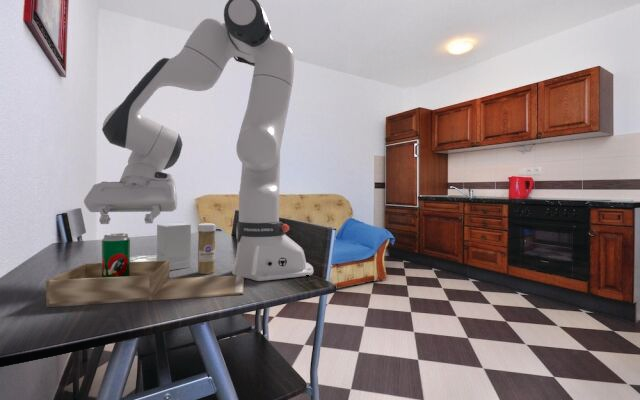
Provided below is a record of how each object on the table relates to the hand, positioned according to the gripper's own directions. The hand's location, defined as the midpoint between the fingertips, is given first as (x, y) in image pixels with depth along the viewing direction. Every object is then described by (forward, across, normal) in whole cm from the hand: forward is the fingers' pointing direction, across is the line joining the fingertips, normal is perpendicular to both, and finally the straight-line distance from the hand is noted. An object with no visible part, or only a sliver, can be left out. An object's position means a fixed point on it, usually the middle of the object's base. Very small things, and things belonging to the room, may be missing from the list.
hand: (126, 222), depth 71 cm
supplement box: (0, +7, +21) cm, 22 cm away
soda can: (+15, 0, +5) cm, 16 cm away
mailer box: (+15, +9, +6) cm, 19 cm away
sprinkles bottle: (+6, +17, +15) cm, 24 cm away
